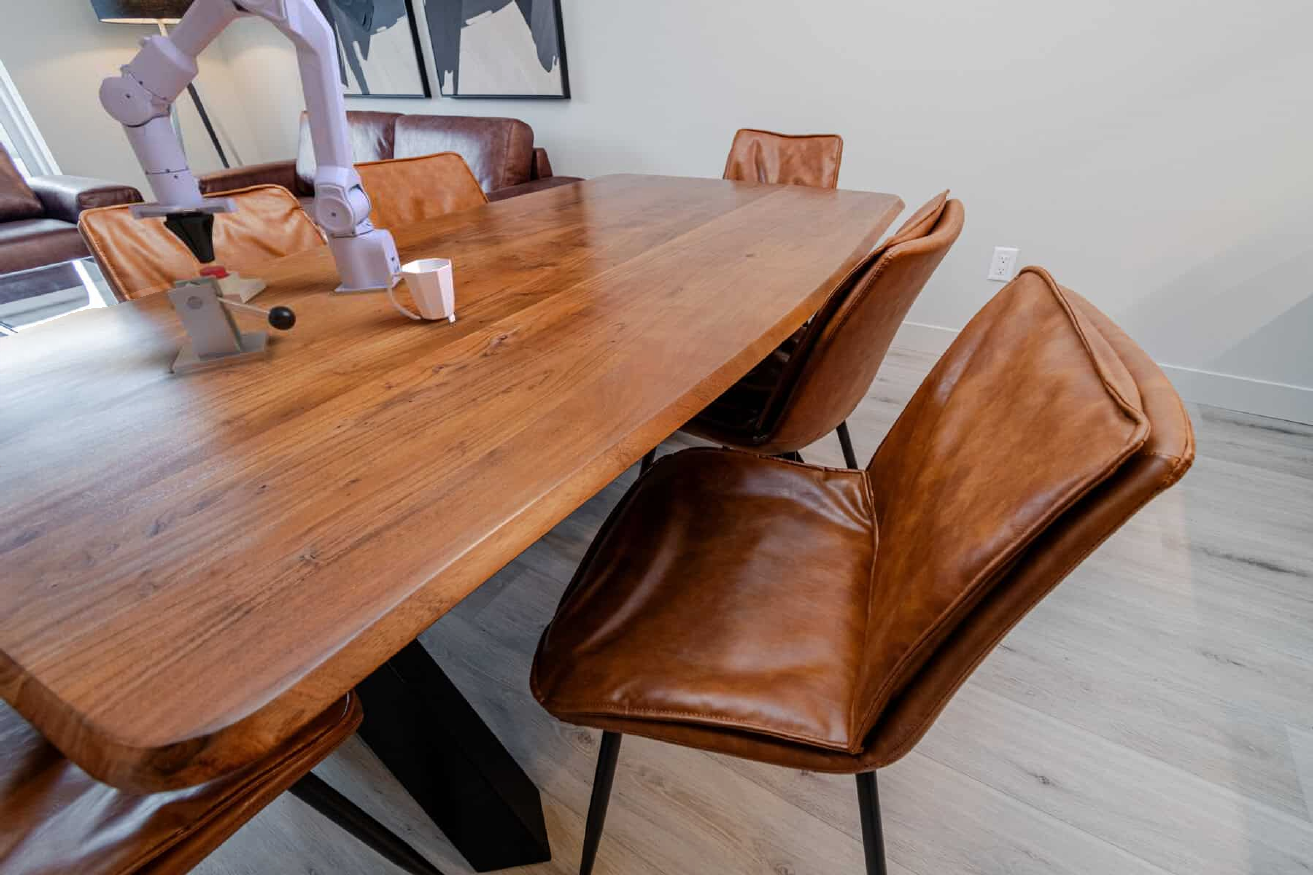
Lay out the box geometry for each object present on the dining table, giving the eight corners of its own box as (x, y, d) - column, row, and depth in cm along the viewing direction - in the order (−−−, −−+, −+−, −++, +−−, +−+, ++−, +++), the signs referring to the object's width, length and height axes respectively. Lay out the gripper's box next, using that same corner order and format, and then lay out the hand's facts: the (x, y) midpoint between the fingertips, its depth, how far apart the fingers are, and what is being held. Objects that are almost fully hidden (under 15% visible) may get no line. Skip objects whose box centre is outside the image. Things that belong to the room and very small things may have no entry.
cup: (455, 329, 83) (441, 272, 78) (386, 331, 84) (368, 274, 79) (472, 311, 89) (459, 256, 84) (407, 312, 90) (391, 259, 85)
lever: (293, 328, 82) (298, 307, 81) (292, 336, 80) (298, 314, 79) (184, 301, 75) (188, 278, 74) (179, 309, 73) (184, 284, 72)
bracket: (270, 337, 84) (241, 267, 78) (266, 358, 77) (234, 284, 72) (187, 353, 80) (150, 281, 75) (175, 376, 74) (135, 300, 69)
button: (233, 275, 100) (228, 264, 99) (221, 282, 97) (217, 271, 96) (210, 276, 100) (205, 266, 99) (198, 283, 97) (193, 273, 96)
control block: (266, 287, 104) (257, 267, 102) (243, 303, 97) (234, 282, 95) (206, 292, 103) (196, 272, 101) (179, 308, 96) (169, 287, 94)
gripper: (98, 178, 86) (146, 272, 93) (203, 172, 86) (242, 265, 94) (129, 171, 92) (172, 259, 99) (228, 165, 92) (263, 253, 100)
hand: (208, 262), depth 97 cm, fingers closed
